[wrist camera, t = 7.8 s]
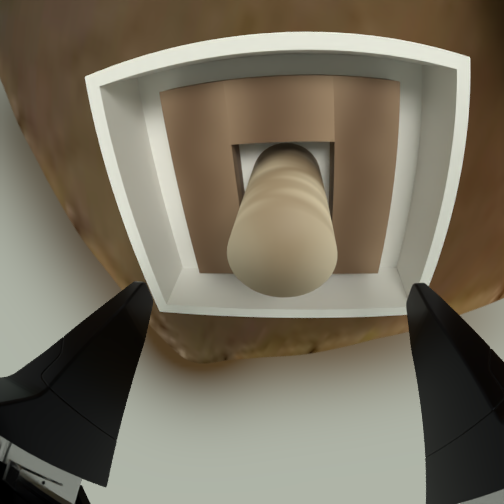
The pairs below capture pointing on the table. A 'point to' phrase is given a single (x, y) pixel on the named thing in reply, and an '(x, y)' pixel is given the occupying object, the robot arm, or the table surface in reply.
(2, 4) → the table surface
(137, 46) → the table surface
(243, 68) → the open box
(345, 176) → the bore plate
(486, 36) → the table surface
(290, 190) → the peg
